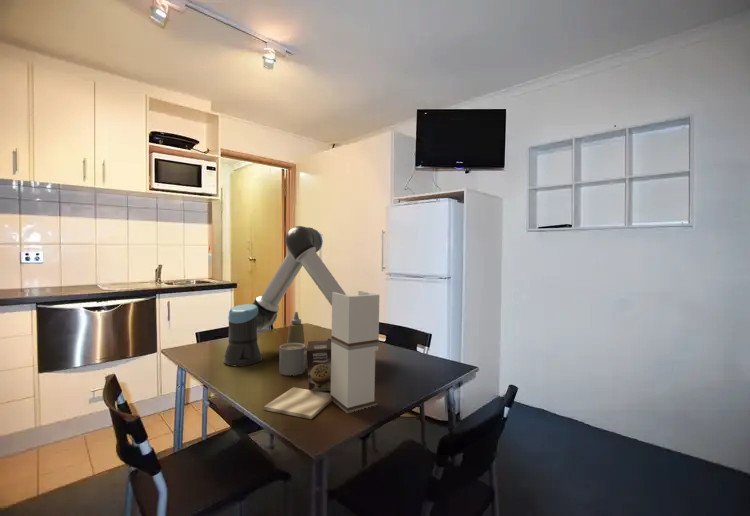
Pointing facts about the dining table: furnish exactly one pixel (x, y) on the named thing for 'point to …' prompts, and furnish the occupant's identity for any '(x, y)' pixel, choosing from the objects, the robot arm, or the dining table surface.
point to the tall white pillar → (354, 350)
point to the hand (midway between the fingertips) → (323, 354)
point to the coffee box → (319, 365)
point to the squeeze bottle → (296, 331)
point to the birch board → (300, 403)
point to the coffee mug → (292, 359)
